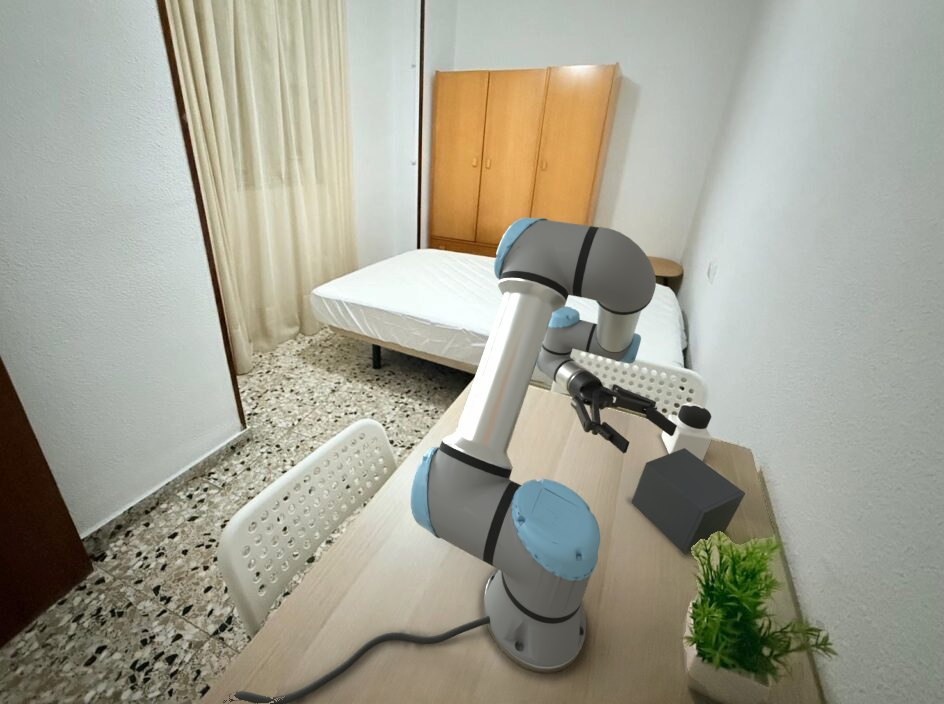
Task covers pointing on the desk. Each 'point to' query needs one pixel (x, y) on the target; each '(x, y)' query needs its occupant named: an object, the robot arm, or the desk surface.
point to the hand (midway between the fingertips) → (651, 439)
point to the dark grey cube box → (686, 498)
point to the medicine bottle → (689, 431)
